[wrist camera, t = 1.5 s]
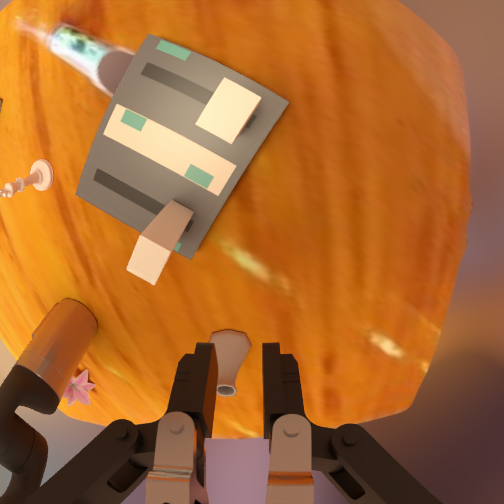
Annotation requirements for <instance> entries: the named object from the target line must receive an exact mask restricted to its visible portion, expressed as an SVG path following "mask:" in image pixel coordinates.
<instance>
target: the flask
mask: <svg viewBox="0 0 504 504" xmlns="http://www.w3.org/2000/svg"><path fill="white" fill-rule="evenodd" d="M209 343H214V344H215V349H216V355H217V361H218V383H217V392H216V393H217V394H218V395H220V396H225V397H228V396H235V394H236V392H237V389H236V387H235V380H236V377H237V373H238V371H239V369H240V367H241V365H242V363H243V361H244V359H245V357H246V355H247V353H248V351H249V349H250V347H251V343H250V341H249V340H248V338H247V336H246V334H245V333H241V332H237V331H233V330H224V331H219V332H215V333H212V335H211V338H210V341H209Z"/></svg>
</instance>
